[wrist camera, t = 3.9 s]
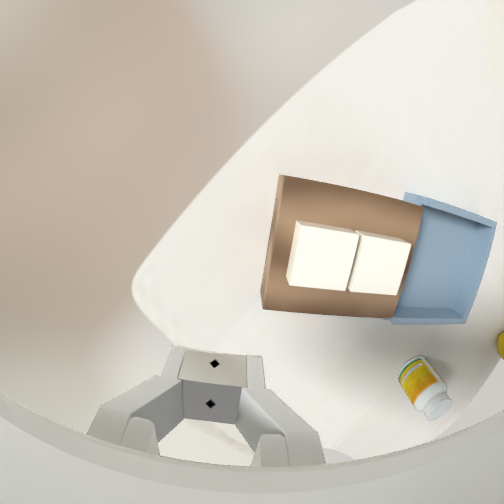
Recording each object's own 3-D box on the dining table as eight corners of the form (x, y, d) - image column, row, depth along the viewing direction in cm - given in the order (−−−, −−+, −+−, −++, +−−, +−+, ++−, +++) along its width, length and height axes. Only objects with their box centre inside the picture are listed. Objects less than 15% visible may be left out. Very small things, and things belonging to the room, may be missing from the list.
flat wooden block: (279, 174, 26) (285, 175, 22) (403, 200, 27) (423, 206, 23) (260, 290, 29) (262, 309, 25) (377, 301, 30) (392, 318, 26)
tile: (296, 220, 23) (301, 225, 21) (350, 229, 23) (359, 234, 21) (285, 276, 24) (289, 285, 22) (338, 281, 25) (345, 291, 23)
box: (405, 192, 26) (422, 196, 23) (479, 216, 27) (496, 222, 24) (374, 309, 30) (387, 323, 27) (451, 311, 31) (464, 323, 28)
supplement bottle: (431, 355, 34) (462, 394, 24) (414, 382, 35) (440, 422, 26) (408, 353, 33) (439, 396, 24) (390, 381, 34) (416, 425, 25)
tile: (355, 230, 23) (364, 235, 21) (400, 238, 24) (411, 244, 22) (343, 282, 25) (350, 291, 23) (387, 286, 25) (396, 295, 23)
